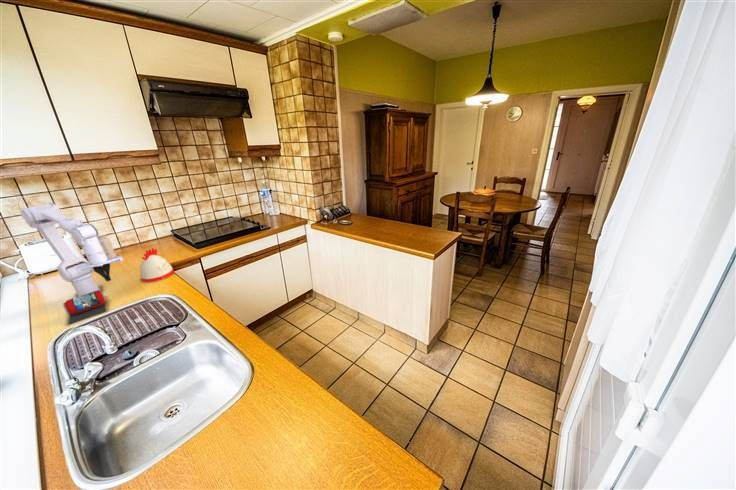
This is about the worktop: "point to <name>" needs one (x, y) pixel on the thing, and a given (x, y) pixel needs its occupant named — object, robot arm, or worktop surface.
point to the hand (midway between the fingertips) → (108, 280)
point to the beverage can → (84, 302)
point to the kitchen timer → (154, 267)
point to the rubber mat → (86, 314)
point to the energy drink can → (107, 246)
